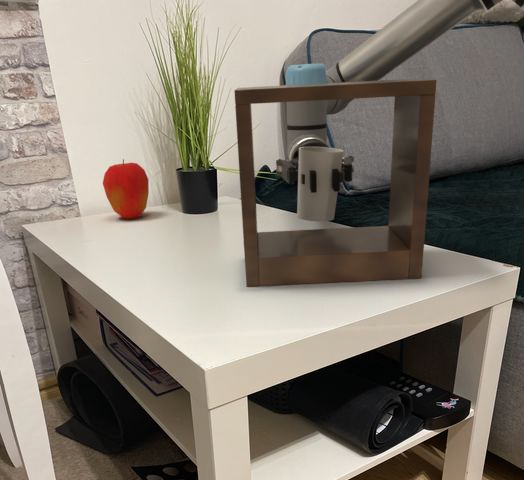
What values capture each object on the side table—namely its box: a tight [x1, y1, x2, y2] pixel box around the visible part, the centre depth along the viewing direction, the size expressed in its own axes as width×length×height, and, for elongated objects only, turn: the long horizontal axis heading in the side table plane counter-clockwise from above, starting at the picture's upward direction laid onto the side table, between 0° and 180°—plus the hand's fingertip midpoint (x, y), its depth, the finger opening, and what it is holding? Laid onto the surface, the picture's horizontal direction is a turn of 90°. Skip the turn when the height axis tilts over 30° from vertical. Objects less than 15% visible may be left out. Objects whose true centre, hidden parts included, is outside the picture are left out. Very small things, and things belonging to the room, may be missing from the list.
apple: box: [102, 158, 150, 220], centre depth 120 cm, size 9×9×12 cm
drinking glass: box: [296, 147, 344, 223], centre depth 87 cm, size 7×7×10 cm
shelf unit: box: [233, 78, 438, 288], centre depth 80 cm, size 24×14×25 cm, turn 91°
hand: (325, 182), depth 82 cm, fingers closed on drinking glass, 3 cm apart
